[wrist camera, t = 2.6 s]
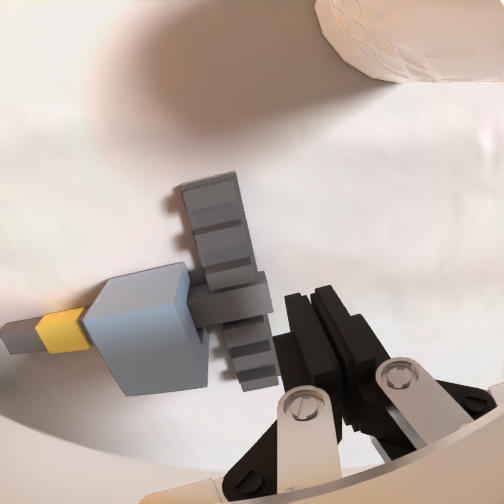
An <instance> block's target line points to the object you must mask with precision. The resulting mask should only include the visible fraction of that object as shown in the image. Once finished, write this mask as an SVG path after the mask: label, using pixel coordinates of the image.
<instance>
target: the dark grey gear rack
mask: <svg viewBox="0 0 504 504" xmlns="http://www.w3.org/2000/svg"><path fill="white" fill-rule="evenodd" d="M180 190H181V193H182V197H183V201H184V205H185V208H186V212H187V216H188V219H189V223H190V226H191V230H192V234H193V237H194V241H195V244H196V248H197V251H198V255H199V258H200V261H201V265H202V268H203V272H204V275H205V278H206V282H207V285H208V288H210V291H213V290H217V289H222V288H226V287H231V286H236V285H240V284H245V283H249V282H254V281H255V278H257V277H259V275H258V270H257V266H256V261H255V257H254V252H253V248H252V243H251V239H250V234H249V230H248V225H247V221H246V217H245V212H244V208H243V203H242V199H241V194H240V190H239V185H238V181H237V176H236V172H235V171H233V172H228V173H224V174H219V175H215V176H211V177H207V178H203V179H199V180H195V181H191V182H187V183H183V184H181V185H180ZM220 326H221V330H222V333H223V336H224V339H225V342H226V345H227V348H228V351H229V354H230V357H231V360H232V363H233V366H234V369H235V372H236V375H237V377H238V380H239V383H240V384H241V387H242V390H243V392H246V391H251V390H257V389H262V388H266V387H271V386H276V385H279V382H278V377H277V376H281V374H280V369H279V365H278V361H277V357H276V352H275V348H274V343H273V339H272V333H271V329H270V324H269V320H268V315H267V314H263V315H258V316H254V317H249V318H244V319H240V320H235V321H230V322H225V323H220Z"/></svg>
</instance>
